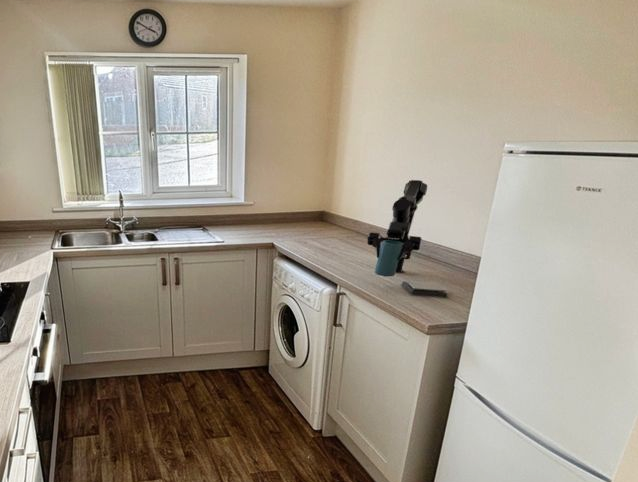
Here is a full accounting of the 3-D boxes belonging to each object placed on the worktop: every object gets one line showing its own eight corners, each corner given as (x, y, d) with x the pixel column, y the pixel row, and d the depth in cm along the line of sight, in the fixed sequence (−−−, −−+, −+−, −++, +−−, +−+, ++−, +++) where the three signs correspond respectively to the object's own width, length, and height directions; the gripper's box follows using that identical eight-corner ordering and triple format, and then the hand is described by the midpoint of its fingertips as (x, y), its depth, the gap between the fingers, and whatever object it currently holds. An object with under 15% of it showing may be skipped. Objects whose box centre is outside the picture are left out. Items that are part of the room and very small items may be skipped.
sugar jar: (373, 270, 188) (380, 239, 183) (392, 272, 186) (400, 240, 181) (376, 275, 182) (384, 243, 176) (396, 277, 180) (405, 245, 174)
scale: (401, 284, 189) (402, 280, 188) (434, 286, 186) (435, 283, 185) (411, 294, 177) (412, 290, 176) (446, 297, 174) (447, 293, 173)
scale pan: (405, 281, 186) (406, 280, 186) (436, 283, 183) (436, 282, 183) (413, 289, 176) (414, 288, 176) (445, 291, 174) (446, 290, 174)
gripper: (373, 211, 183) (362, 243, 179) (427, 215, 172) (416, 249, 169) (373, 228, 191) (362, 259, 188) (424, 233, 181) (414, 266, 178)
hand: (387, 258), depth 180 cm, fingers closed on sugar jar, 7 cm apart
